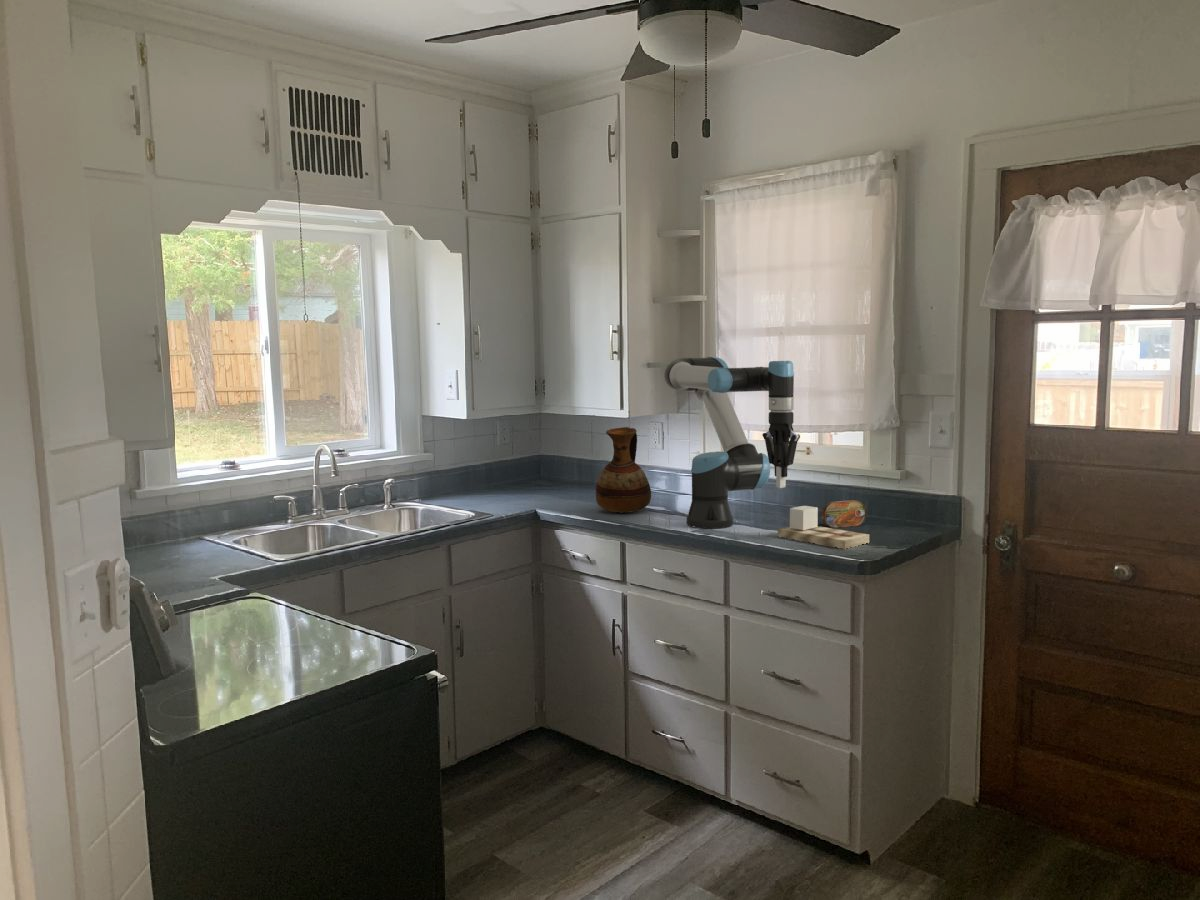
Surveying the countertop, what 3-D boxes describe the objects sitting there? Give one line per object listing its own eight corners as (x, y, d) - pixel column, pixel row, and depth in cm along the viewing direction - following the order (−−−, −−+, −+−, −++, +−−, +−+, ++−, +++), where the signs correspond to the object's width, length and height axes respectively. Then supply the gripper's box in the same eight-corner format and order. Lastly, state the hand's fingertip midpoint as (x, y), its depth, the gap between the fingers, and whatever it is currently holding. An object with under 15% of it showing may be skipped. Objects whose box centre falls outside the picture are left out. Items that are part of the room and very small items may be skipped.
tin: (825, 529, 292) (825, 502, 291) (820, 527, 295) (820, 501, 294) (866, 525, 296) (867, 499, 295) (861, 524, 299) (861, 498, 298)
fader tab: (789, 527, 280) (789, 508, 279) (804, 524, 285) (804, 505, 284) (803, 530, 276) (803, 510, 276) (817, 527, 281) (817, 507, 280)
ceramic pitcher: (588, 514, 323) (587, 429, 320) (605, 505, 342) (604, 424, 339) (642, 516, 317) (642, 430, 314) (656, 507, 336) (656, 425, 333)
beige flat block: (777, 536, 281) (777, 528, 280) (802, 531, 288) (802, 523, 288) (844, 549, 263) (845, 540, 262) (869, 543, 270) (869, 534, 270)
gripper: (756, 411, 286) (756, 486, 288) (790, 412, 276) (790, 490, 278) (772, 409, 291) (772, 484, 293) (805, 411, 281) (805, 488, 283)
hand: (780, 487), depth 286 cm, fingers closed
